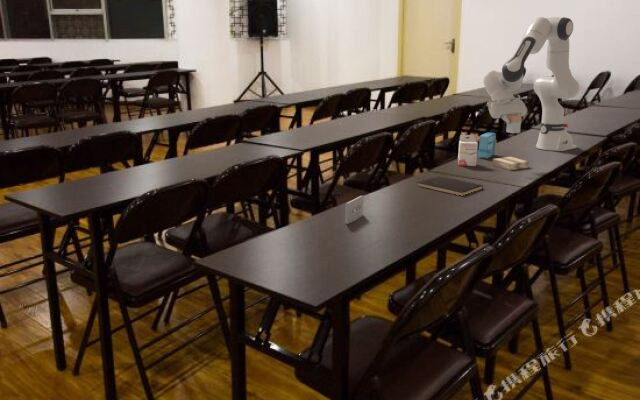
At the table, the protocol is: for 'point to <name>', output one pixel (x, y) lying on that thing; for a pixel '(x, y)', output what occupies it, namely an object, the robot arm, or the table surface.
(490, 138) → the data package
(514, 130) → the block
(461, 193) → the hardcover book
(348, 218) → the cassette
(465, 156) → the ink cartridge box
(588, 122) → the table surface
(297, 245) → the table surface
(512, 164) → the birch stand
